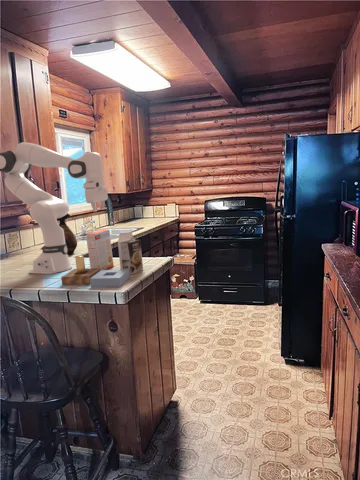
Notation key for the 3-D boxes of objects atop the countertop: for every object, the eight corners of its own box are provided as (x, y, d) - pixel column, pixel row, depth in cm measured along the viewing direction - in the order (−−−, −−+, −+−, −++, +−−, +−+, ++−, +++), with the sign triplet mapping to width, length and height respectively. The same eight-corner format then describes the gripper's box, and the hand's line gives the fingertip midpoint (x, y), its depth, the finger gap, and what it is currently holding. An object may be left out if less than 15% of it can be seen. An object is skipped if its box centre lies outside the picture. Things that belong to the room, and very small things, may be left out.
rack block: (62, 285, 165) (61, 276, 164) (75, 276, 178) (74, 268, 177) (90, 284, 162) (89, 276, 162) (101, 275, 176) (100, 268, 175)
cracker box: (104, 266, 196) (100, 229, 192) (114, 266, 194) (110, 229, 190) (90, 273, 183) (85, 233, 179) (99, 273, 181) (95, 233, 177)
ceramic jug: (76, 251, 245) (71, 208, 240) (79, 254, 231) (74, 209, 226) (51, 254, 238) (45, 211, 233) (52, 258, 224) (46, 212, 219)
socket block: (90, 287, 158) (89, 278, 157) (102, 278, 172) (101, 270, 171) (120, 286, 156) (119, 277, 155) (129, 277, 170) (128, 269, 169)
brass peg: (76, 281, 169) (73, 257, 167) (80, 279, 173) (77, 255, 170) (84, 281, 168) (81, 257, 166) (87, 279, 172) (84, 255, 170)
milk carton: (133, 269, 185) (129, 233, 181) (120, 269, 186) (116, 234, 183) (137, 265, 192) (134, 231, 188) (125, 265, 193) (121, 231, 190)
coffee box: (132, 274, 174) (129, 243, 171) (122, 273, 177) (119, 242, 174) (143, 270, 182) (141, 239, 179) (134, 268, 185) (131, 239, 182)
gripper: (98, 183, 192) (101, 208, 195) (81, 185, 172) (84, 212, 175) (109, 182, 191) (111, 207, 194) (93, 184, 171) (96, 212, 174)
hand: (98, 210), depth 184 cm, fingers open, 8 cm apart
